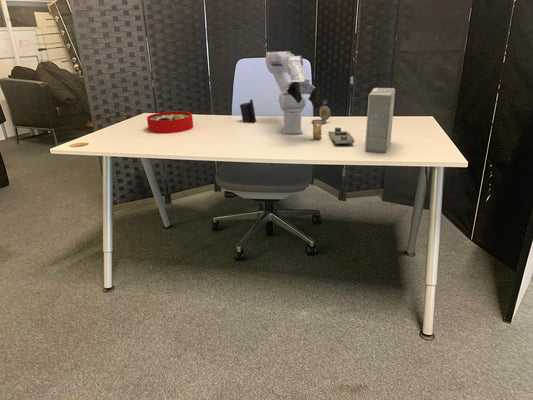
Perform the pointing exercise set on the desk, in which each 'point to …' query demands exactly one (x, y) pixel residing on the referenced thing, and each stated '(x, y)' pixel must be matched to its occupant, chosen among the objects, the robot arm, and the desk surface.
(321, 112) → the pocket watch
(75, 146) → the desk surface
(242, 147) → the desk surface
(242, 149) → the desk surface
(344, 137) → the square cutout plate
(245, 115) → the speaker
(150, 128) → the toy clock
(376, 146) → the hard drive box
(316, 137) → the brass pin
